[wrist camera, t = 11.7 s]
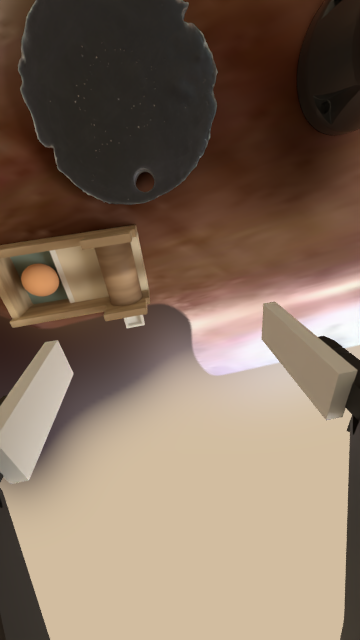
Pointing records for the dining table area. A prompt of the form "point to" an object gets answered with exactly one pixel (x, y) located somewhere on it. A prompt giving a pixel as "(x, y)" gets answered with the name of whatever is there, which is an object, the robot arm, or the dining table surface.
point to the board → (118, 92)
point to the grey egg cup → (134, 321)
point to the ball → (40, 279)
